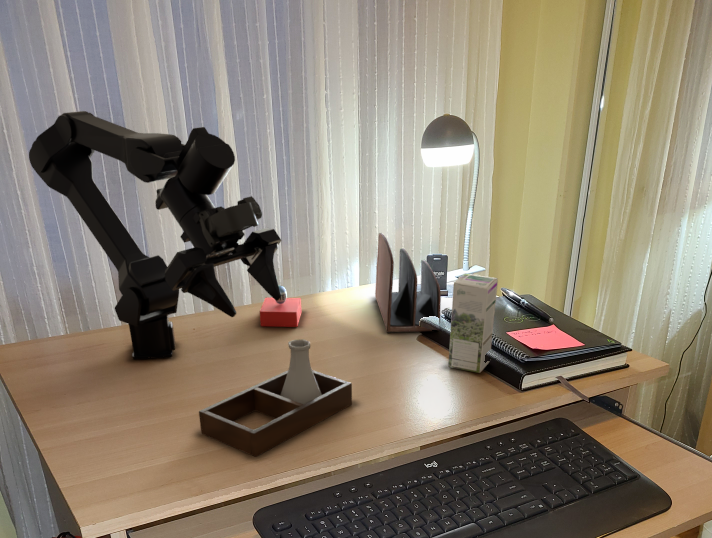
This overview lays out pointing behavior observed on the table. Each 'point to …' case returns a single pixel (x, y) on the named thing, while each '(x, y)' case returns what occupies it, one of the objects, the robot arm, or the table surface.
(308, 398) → the flask
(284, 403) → the walnut divided tray
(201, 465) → the table surface
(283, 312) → the red slab
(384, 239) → the letter holder
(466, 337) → the syrup box
